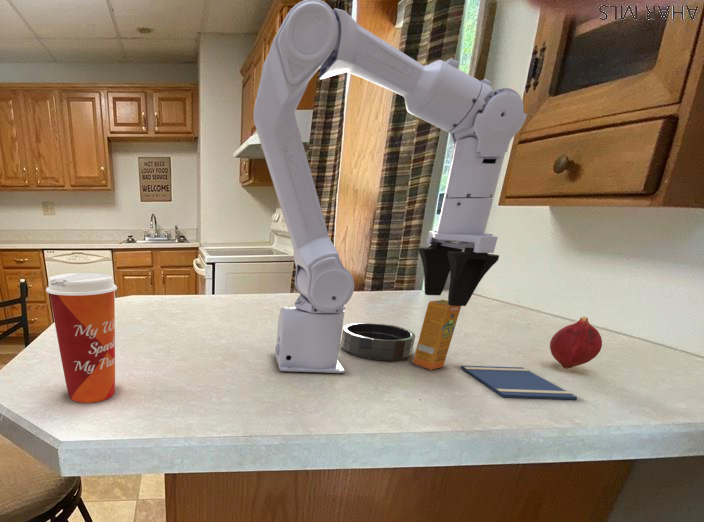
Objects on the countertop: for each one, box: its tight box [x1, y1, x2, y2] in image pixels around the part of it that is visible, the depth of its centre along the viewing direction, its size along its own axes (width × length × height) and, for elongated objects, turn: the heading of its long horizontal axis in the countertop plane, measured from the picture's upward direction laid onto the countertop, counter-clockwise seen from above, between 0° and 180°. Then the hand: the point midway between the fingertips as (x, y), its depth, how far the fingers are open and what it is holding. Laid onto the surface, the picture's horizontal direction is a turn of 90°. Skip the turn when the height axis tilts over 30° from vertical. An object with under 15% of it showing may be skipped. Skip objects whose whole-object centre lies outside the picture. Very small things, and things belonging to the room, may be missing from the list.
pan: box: [340, 322, 416, 362], centre depth 72 cm, size 11×11×4 cm
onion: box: [549, 316, 603, 369], centre depth 64 cm, size 6×6×8 cm
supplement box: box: [412, 299, 462, 371], centre depth 64 cm, size 3×3×10 cm
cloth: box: [460, 365, 578, 401], centre depth 60 cm, size 9×11×1 cm
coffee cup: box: [45, 272, 118, 404], centre depth 53 cm, size 8×8×15 cm
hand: (444, 299), depth 62 cm, fingers open, 7 cm apart
